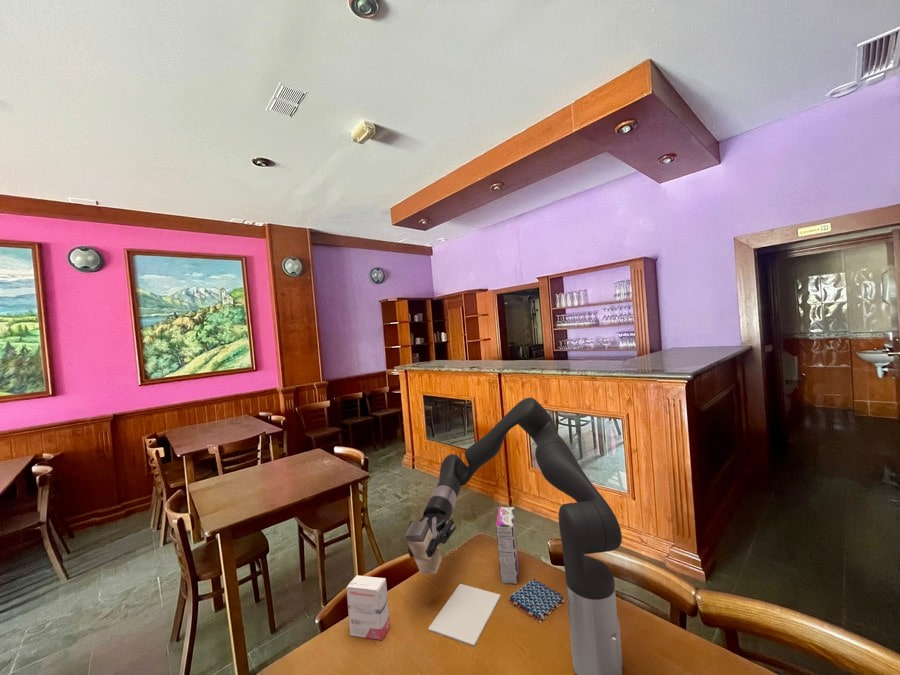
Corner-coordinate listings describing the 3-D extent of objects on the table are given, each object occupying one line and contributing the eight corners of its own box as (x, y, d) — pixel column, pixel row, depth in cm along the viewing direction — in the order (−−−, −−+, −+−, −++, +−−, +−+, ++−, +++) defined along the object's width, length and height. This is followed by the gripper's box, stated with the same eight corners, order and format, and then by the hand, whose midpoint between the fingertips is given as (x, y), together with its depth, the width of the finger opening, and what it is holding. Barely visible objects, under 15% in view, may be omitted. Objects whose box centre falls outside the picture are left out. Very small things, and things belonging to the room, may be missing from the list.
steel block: (441, 558, 96) (427, 521, 94) (436, 573, 92) (420, 535, 90) (426, 558, 98) (411, 522, 95) (420, 573, 94) (404, 535, 91)
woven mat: (506, 603, 94) (506, 595, 94) (533, 584, 101) (532, 576, 101) (539, 626, 86) (539, 618, 86) (566, 603, 93) (565, 595, 93)
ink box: (391, 625, 89) (387, 577, 89) (382, 641, 85) (378, 590, 85) (359, 620, 92) (356, 573, 92) (349, 636, 87) (345, 586, 87)
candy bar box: (502, 559, 112) (498, 506, 112) (519, 560, 111) (514, 506, 111) (500, 584, 101) (495, 524, 101) (518, 585, 100) (513, 525, 100)
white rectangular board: (500, 596, 96) (500, 594, 96) (474, 646, 81) (474, 644, 81) (460, 585, 102) (460, 583, 102) (428, 630, 87) (428, 628, 87)
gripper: (467, 515, 105) (449, 567, 89) (423, 517, 110) (399, 566, 95) (459, 493, 103) (439, 542, 88) (415, 496, 109) (389, 543, 93)
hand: (419, 554), depth 91 cm, fingers closed on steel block, 4 cm apart
